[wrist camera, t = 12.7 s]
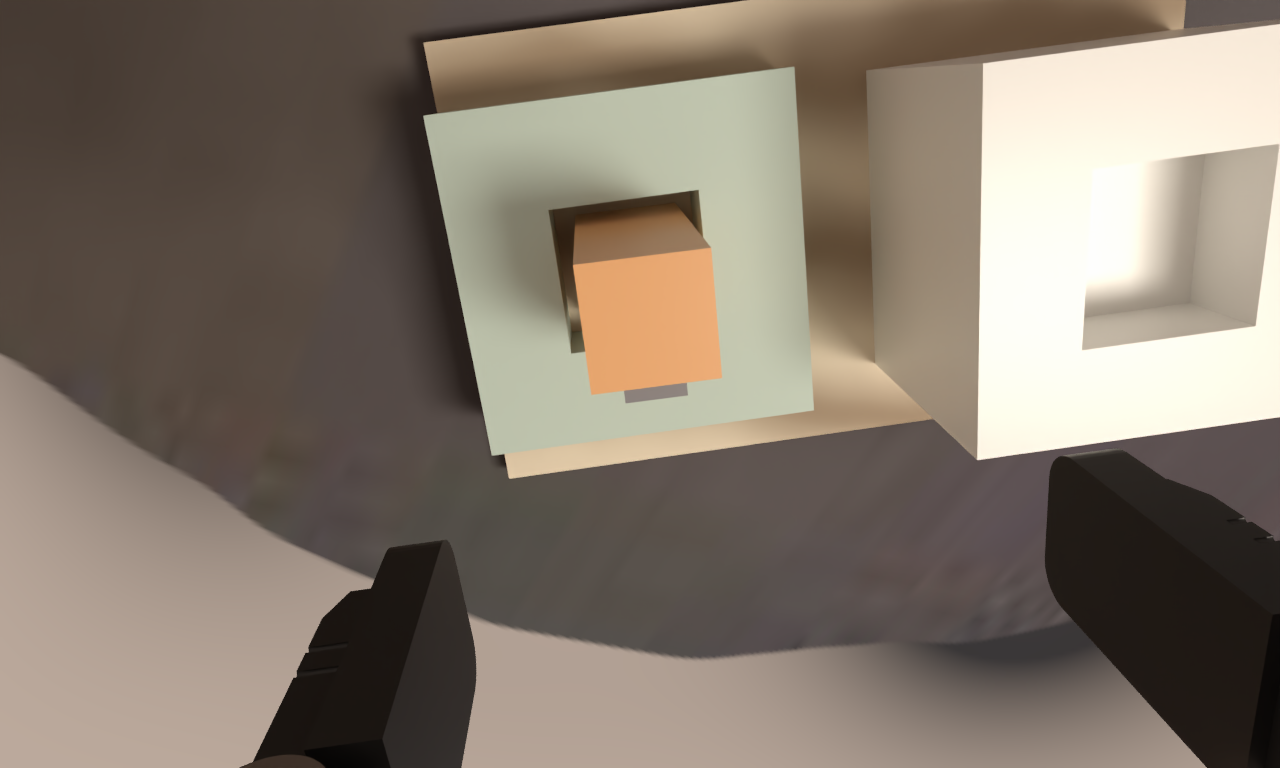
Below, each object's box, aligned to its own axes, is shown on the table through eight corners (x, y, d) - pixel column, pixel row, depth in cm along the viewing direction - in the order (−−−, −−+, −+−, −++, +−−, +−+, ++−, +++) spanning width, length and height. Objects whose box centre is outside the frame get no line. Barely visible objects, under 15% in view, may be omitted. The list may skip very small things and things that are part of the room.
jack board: (427, 44, 32) (423, 42, 31) (1173, -54, 32) (1190, -58, 31) (511, 468, 38) (509, 478, 37) (1137, 380, 39) (1151, 388, 38)
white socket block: (866, 70, 32) (983, 63, 23) (1170, 29, 32) (1410, 6, 23) (874, 363, 36) (977, 459, 27) (1145, 325, 37) (1340, 408, 27)
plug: (575, 214, 33) (572, 264, 24) (674, 202, 33) (711, 247, 24) (591, 329, 35) (594, 419, 26) (686, 318, 35) (724, 402, 26)
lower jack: (437, 113, 32) (423, 115, 29) (775, 68, 32) (794, 66, 29) (499, 426, 36) (492, 455, 33) (795, 385, 36) (813, 410, 34)
